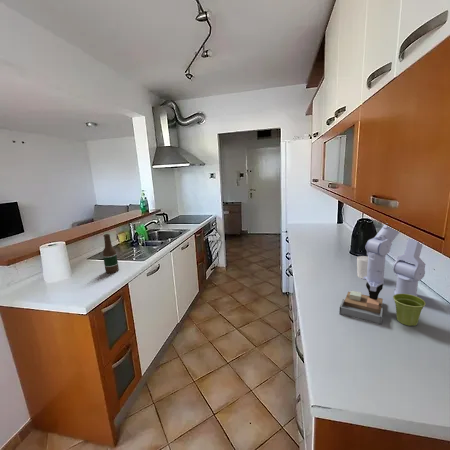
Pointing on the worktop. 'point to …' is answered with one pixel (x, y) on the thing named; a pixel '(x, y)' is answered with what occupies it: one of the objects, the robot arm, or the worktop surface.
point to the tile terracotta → (372, 303)
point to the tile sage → (355, 295)
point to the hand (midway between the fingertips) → (373, 300)
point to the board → (362, 303)
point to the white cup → (362, 266)
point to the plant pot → (408, 308)
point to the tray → (361, 313)
